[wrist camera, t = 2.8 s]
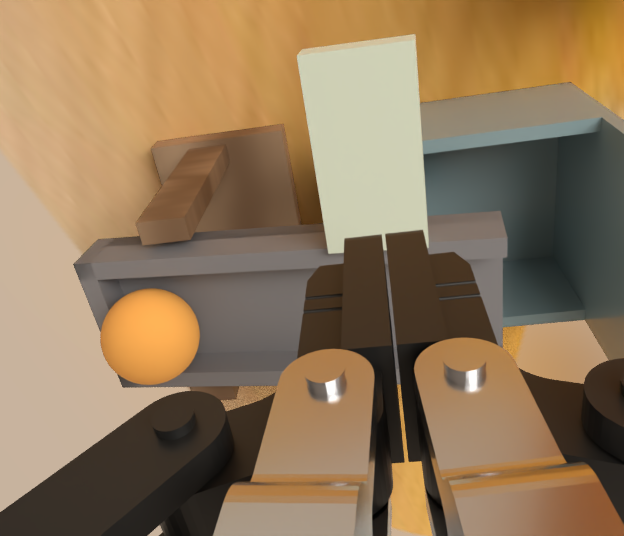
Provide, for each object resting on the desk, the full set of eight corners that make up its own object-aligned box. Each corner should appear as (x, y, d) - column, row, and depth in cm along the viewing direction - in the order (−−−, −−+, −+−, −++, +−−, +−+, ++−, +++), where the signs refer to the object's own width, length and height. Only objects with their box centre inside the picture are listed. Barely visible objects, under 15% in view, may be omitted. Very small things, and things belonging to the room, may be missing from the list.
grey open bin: (384, 277, 36) (398, 421, 26) (366, 110, 31) (374, 203, 21) (560, 259, 35) (650, 402, 24) (570, 82, 30) (689, 166, 19)
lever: (141, 357, 29) (118, 393, 27) (38, 78, 23) (-3, 95, 21) (500, 348, 26) (507, 389, 24) (500, 13, 19) (510, 26, 17)
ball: (140, 346, 28) (101, 405, 25) (113, 273, 26) (67, 327, 23) (220, 343, 27) (192, 405, 24) (199, 268, 25) (165, 323, 22)
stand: (202, 295, 37) (155, 410, 28) (157, 141, 32) (85, 222, 24) (312, 284, 36) (300, 398, 28) (283, 123, 32) (257, 200, 23)
